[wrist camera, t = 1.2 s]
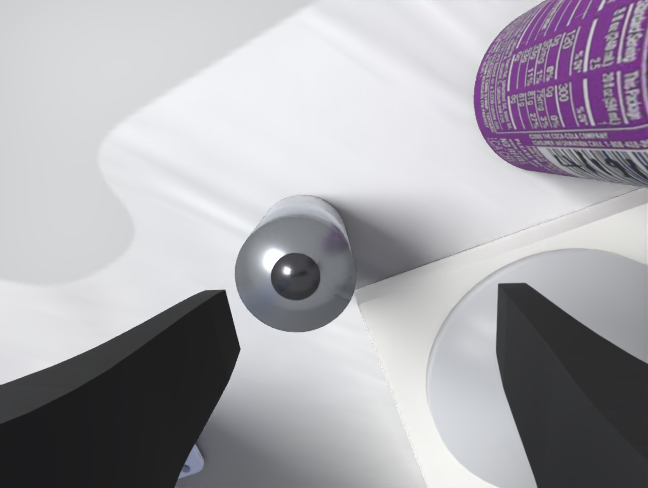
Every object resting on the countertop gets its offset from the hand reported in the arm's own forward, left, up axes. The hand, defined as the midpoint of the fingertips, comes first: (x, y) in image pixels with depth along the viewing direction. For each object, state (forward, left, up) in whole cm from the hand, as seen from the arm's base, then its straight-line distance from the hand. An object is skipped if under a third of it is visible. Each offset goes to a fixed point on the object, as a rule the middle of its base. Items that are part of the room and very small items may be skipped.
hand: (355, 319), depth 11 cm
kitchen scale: (+7, -10, -10) cm, 16 cm away
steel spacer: (-2, 0, -10) cm, 10 cm away
